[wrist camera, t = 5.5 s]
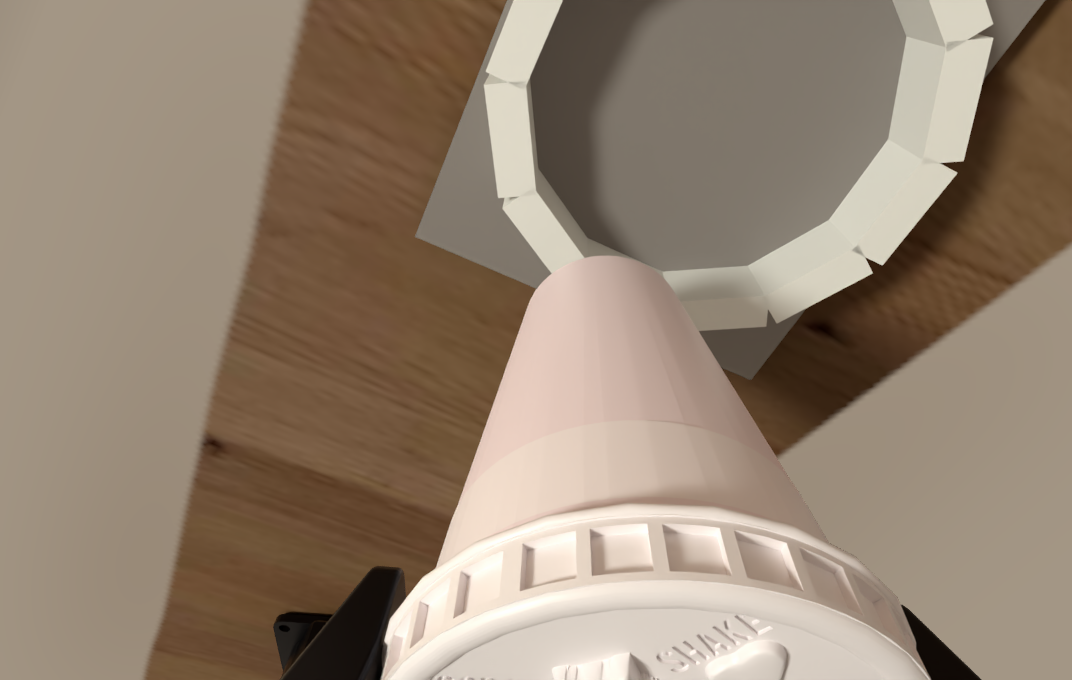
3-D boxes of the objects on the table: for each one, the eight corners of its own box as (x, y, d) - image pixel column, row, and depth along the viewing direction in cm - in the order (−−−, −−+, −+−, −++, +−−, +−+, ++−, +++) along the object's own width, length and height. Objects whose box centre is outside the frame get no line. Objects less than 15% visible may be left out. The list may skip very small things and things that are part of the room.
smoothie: (527, 458, 18) (457, 1520, 6) (420, 254, 15) (-180, 1619, 3) (766, 392, 16) (1307, 1616, 4) (703, 150, 13) (1892, 2014, 1)
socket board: (745, 367, 23) (766, 416, 21) (420, 226, 21) (401, 264, 18) (1070, -62, 16) (1159, -63, 14) (641, -342, 14) (658, -401, 11)
